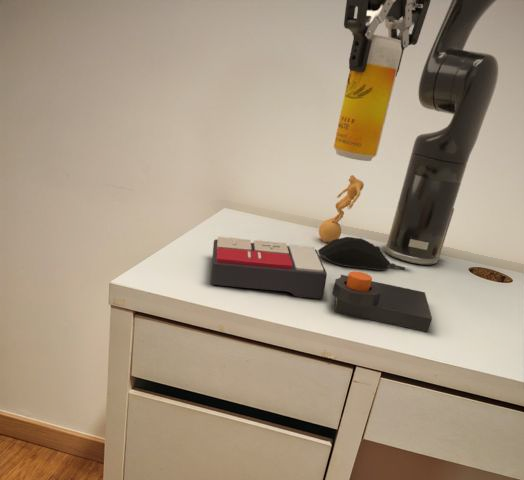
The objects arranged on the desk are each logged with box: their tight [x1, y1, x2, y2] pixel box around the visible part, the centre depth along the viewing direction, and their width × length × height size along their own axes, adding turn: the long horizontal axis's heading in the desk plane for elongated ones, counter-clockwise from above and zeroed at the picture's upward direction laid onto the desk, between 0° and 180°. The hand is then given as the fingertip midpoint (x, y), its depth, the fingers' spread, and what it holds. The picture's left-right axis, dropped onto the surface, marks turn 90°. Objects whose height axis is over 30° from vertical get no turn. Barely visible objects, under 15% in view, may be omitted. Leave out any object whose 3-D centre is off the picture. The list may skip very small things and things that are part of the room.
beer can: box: [333, 34, 402, 162], centre depth 79 cm, size 6×6×15 cm
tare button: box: [346, 270, 373, 291], centre depth 74 cm, size 3×3×2 cm
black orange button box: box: [332, 274, 433, 333], centre depth 77 cm, size 11×13×4 cm
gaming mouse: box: [317, 236, 406, 271], centre depth 95 cm, size 6×15×4 cm, turn 95°
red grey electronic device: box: [210, 236, 328, 300], centre depth 81 cm, size 11×4×15 cm
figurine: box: [318, 174, 365, 243], centre depth 102 cm, size 8×6×12 cm
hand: (372, 74), depth 77 cm, fingers closed on beer can, 6 cm apart
